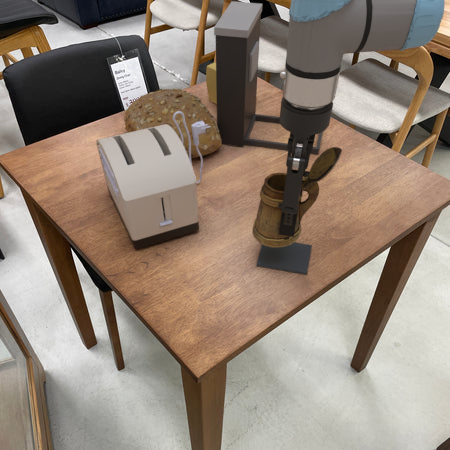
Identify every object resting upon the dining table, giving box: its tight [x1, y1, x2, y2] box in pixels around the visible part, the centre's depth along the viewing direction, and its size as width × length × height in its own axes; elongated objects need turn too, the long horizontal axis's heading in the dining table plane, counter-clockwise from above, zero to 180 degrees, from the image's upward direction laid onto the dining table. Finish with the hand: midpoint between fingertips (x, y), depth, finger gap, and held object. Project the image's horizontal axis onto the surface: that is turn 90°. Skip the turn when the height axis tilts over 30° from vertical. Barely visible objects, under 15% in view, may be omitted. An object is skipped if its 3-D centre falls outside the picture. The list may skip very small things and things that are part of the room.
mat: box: [255, 242, 313, 276], centre depth 88 cm, size 10×8×1 cm
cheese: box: [205, 61, 217, 105], centre depth 125 cm, size 10×11×10 cm
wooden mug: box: [251, 146, 343, 247], centre depth 76 cm, size 9×14×18 cm, turn 86°
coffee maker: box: [213, 0, 324, 155], centre depth 107 cm, size 26×17×28 cm, turn 76°
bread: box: [123, 88, 223, 159], centre depth 110 cm, size 24×21×12 cm
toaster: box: [95, 111, 211, 250], centre depth 92 cm, size 23×25×17 cm
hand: (289, 220), depth 81 cm, fingers closed on wooden mug, 7 cm apart
